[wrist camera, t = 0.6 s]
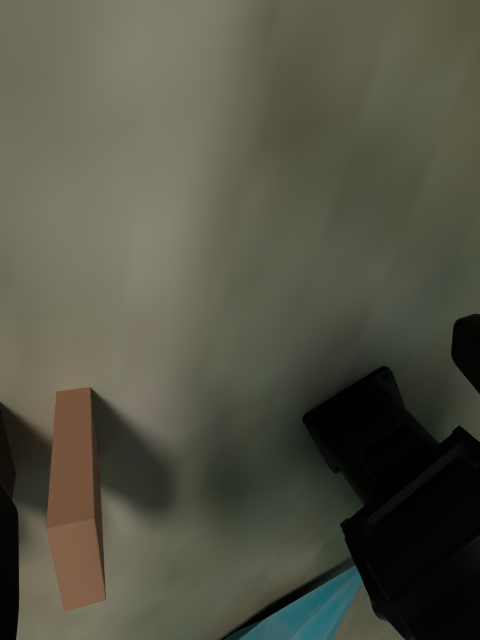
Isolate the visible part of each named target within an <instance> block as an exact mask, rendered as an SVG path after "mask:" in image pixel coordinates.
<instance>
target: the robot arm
mask: <svg viewBox="0 0 480 640" xmlns="http://www.w3.org/2000/svg"><path fill="white" fill-rule="evenodd" d="M451 355H452V359H453V361H454V363H455V364H456V366H457V367H458V368H459V369H460V371H461V372H462V373H463V374H464V376H465V377H466V378H467V379H468V380H469V382H470V383H471V384H472V385H473V386H474V388H475V389H476V390H477V391H478V392H479V394H480V314H472V315H469V316H466V317H463V318H460V319H458V320H456V322H455V323H454V326H453V336H452V347H451ZM311 419H312V420H311ZM303 423H304V424H305V426H306V428H307V430H308V431H309V433H310V435H311V436H312V438H313V440H314V442H315V443H316V445H317V447H318V448H319V450H320V452H321V454H322V455H323V457H324V459H325V460H326V462H327V464H328V466H329V467H330V469H331V470H332V472H333V473H339V472H342V474H343V475H344V477H345V478H346V480H347V481H348V483H349V484H350V486H351V487H352V489H353V490H354V492H355V493H356V495H357V496H358V498H359V499H360V501H361V502H362V504H363V505H364V507H363V508H362V509H360V510H359V511H358V512H357V513H356V514H354V515H353V516H352V517H351V518H350V519H348V518H347V519H346V520H344V521H343V522H342V523H341V524H340V526H341V528H342V530H343V533H344V535H345V538H344V539H345V541H346V544H347V546H348V548H349V551H350V553H351V555H352V558H353V560H354V562H355V565H356V567H357V569H358V572H359V574H360V576H361V579H362V581H363V583H364V586H365V588H366V590H367V592H368V595H369V598H370V601H371V605H372V609H373V611H374V613H375V614H376V616H377V617H378V618H379V619H381V620H384V621H387V622H390V623H391V625H392V626H393V627H394V628H395V629H396V630H397V631H398V633H399V634H400V635H401V636H402V637H403V638H404V639H406V640H480V442H479V441H478V440H476V439H475V438H474V437H473V436H472V435H470V434H469V433H468V432H467V431H466V430H464V429H463V428H462V427H461V426H458V427H457V428H456V429H454V430H453V431H452V434H451V435H450V436H449V437H447V438H446V439H445V440H444V441H443V442H441V443H439V442H438V441H437V440H436V439H435V438H434V437H433V436H432V435H431V434H430V433H429V432H428V431H427V430H426V429H425V428H424V427H423V426H422V425H421V424H420V423H419V422H418V421H417V420H416V419H415V418H414V417H413V416H412V415H411V414H410V413H409V412H408V411H407V410H406V409H405V406H404V403H403V401H402V398H401V395H400V392H399V389H398V386H397V384H396V381H395V378H394V375H393V372H392V371H391V370H390V369H389V368H388V367H386V366H383V367H381V368H379V369H377V370H376V371H374V372H373V373H371V374H369V375H368V376H366V377H364V378H363V379H361V380H360V381H358V382H356V383H355V384H353V385H352V386H350V387H348V388H347V389H345V390H343V391H342V392H340V393H339V394H337V395H335V396H334V397H332V398H331V399H329V400H327V401H326V402H324V403H323V404H321V405H319V406H318V407H316V408H314V409H313V410H311V411H310V412H308V413H307V414H305V415H304V417H303ZM18 613H19V531H18V512H17V509H16V506H15V504H14V502H13V501H12V499H11V498H10V496H9V495H8V493H7V492H6V490H5V489H4V487H3V486H2V484H1V483H0V640H16V635H17V625H18Z"/></svg>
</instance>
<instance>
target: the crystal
mask: <svg viewBox="0 0 480 640" xmlns="http://www.w3.org/2000/svg"><path fill="white" fill-rule="evenodd" d="M362 583H363V581H362V579H361V576H360V574H359V572H358V569H357V567H356V565H355V566H353V567H351V568H350V569H348V570H346V571H345V572H343V573H341V574H340V575H338V576H336V577H335V578H333V579H331V580H330V581H328V582H326V583H325V584H323V585H321V586H319V587H318V588H316V589H314V590H313V591H311V592H309V593H308V594H306V595H304V596H303V597H301V598H299V599H298V600H296V601H294V602H293V603H291V604H289V605H288V606H286V607H284V608H282V609H281V610H279V611H277V612H276V613H274V614H272V615H271V616H269V617H267V618H265V619H263V620H261V621H258V622H256V623H254V624H251V625H249V626H247V627H245V628H242V629H240V630H238V631H236V632H234V633H233V634H231V635H230V636H228V637H227V638H225V639H224V640H332V639H333V638H334V636H335V634H336V632H337V630H338V628H339V626H340V624H341V623H342V621H343V619H344V617H345V615H346V613H347V611H348V610H349V608H350V606H351V604H352V602H353V600H354V598H355V597H356V595H357V593H358V591H359V589H360V587H361V585H362Z"/></svg>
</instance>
